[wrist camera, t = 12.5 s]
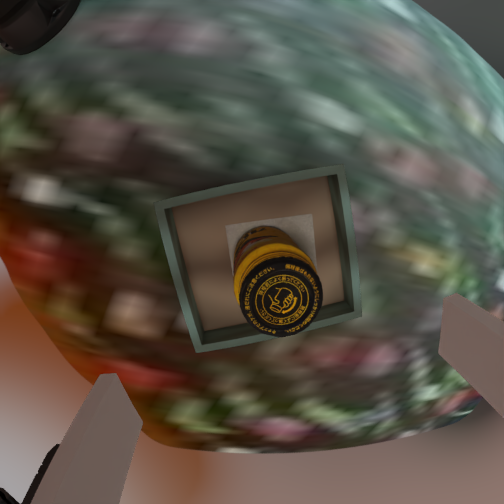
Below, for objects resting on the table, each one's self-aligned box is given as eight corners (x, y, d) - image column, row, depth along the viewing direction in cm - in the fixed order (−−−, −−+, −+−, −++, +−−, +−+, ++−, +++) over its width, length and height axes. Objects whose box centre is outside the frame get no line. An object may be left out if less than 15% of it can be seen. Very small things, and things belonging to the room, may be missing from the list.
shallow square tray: (172, 197, 32) (153, 202, 25) (319, 167, 33) (343, 163, 25) (203, 318, 36) (196, 352, 28) (337, 289, 36) (362, 316, 28)
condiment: (225, 225, 29) (218, 254, 17) (311, 213, 29) (360, 234, 17) (236, 296, 30) (237, 362, 19) (317, 283, 30) (361, 339, 19)
